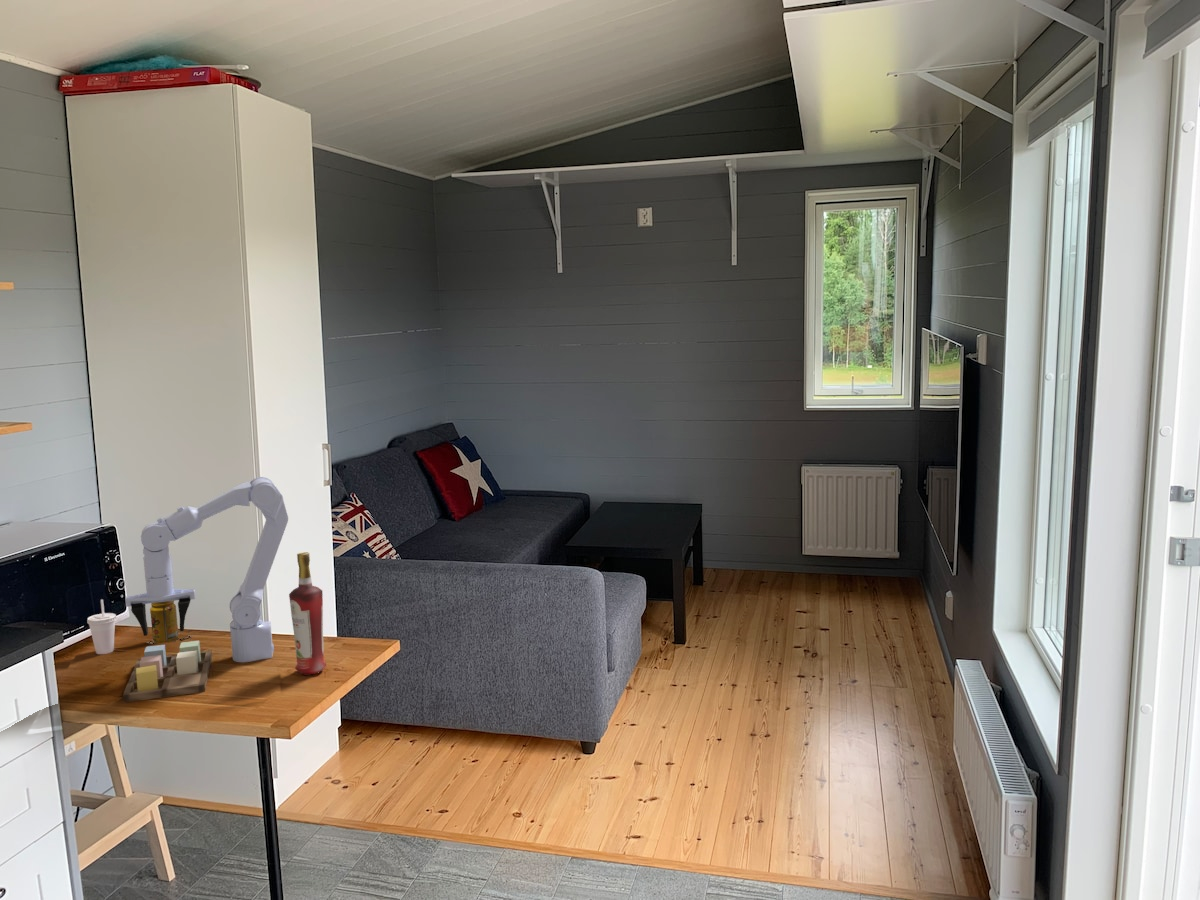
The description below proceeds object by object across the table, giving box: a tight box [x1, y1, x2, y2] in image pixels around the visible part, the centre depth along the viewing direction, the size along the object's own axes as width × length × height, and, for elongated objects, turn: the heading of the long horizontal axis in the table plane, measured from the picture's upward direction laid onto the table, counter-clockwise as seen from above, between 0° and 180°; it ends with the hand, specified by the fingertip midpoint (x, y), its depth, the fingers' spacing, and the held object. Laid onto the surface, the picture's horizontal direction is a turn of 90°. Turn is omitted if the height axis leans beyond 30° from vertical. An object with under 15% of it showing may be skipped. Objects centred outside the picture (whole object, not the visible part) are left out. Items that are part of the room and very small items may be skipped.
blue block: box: [143, 644, 167, 666], centre depth 222 cm, size 4×4×5 cm
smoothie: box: [86, 598, 117, 655], centre depth 234 cm, size 6×6×14 cm
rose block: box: [140, 655, 163, 678], centre depth 215 cm, size 4×4×5 cm
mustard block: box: [136, 665, 158, 692], centre depth 208 cm, size 4×4×5 cm
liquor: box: [288, 552, 327, 676], centre depth 218 cm, size 7×7×28 cm
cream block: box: [176, 651, 198, 675], centre depth 217 cm, size 4×4×5 cm
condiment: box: [145, 601, 192, 645], centre depth 245 cm, size 7×8×12 cm
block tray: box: [122, 649, 213, 703], centre depth 216 cm, size 16×24×2 cm
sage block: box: [179, 640, 201, 662], centre depth 224 cm, size 4×4×5 cm
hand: (164, 632), depth 220 cm, fingers open, 7 cm apart
